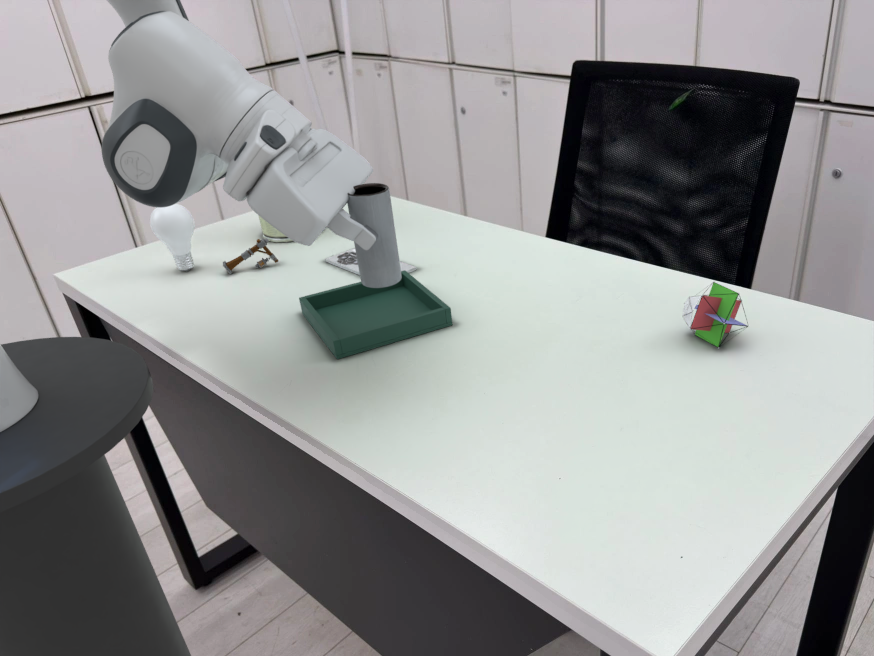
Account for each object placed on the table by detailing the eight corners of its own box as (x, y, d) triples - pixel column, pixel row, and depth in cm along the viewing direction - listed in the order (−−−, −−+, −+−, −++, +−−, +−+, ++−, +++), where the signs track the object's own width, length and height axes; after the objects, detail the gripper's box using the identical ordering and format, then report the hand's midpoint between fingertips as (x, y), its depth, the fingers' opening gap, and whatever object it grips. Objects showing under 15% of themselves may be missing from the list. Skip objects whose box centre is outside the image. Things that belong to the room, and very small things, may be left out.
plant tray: (337, 359, 91) (333, 341, 89) (302, 314, 102) (298, 297, 101) (452, 325, 97) (450, 307, 95) (407, 286, 108) (405, 270, 107)
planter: (385, 291, 80) (370, 197, 75) (352, 284, 82) (336, 193, 77) (410, 275, 84) (397, 185, 78) (378, 270, 86) (364, 181, 80)
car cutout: (416, 269, 114) (412, 241, 111) (381, 284, 110) (376, 255, 107) (359, 249, 123) (354, 222, 121) (325, 261, 119) (319, 234, 117)
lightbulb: (200, 259, 123) (181, 194, 118) (212, 270, 119) (193, 202, 113) (161, 270, 120) (139, 203, 115) (171, 281, 116) (149, 212, 110)
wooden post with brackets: (283, 259, 118) (265, 236, 116) (240, 286, 118) (221, 264, 116) (282, 255, 120) (264, 233, 117) (240, 282, 120) (221, 260, 117)
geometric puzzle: (728, 301, 92) (702, 262, 87) (770, 320, 87) (744, 280, 82) (690, 344, 92) (662, 308, 87) (730, 367, 87) (702, 329, 82)
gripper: (289, 143, 86) (384, 222, 90) (216, 197, 69) (337, 292, 73) (319, 101, 84) (415, 184, 88) (250, 146, 66) (374, 247, 70)
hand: (379, 234), depth 80 cm, fingers closed on planter, 4 cm apart
